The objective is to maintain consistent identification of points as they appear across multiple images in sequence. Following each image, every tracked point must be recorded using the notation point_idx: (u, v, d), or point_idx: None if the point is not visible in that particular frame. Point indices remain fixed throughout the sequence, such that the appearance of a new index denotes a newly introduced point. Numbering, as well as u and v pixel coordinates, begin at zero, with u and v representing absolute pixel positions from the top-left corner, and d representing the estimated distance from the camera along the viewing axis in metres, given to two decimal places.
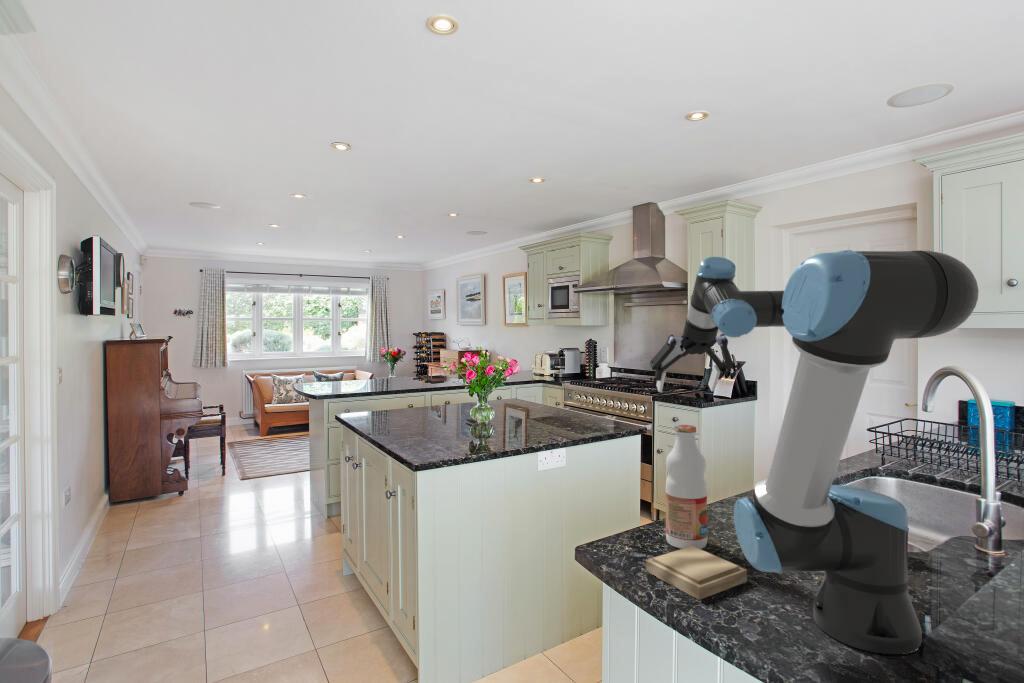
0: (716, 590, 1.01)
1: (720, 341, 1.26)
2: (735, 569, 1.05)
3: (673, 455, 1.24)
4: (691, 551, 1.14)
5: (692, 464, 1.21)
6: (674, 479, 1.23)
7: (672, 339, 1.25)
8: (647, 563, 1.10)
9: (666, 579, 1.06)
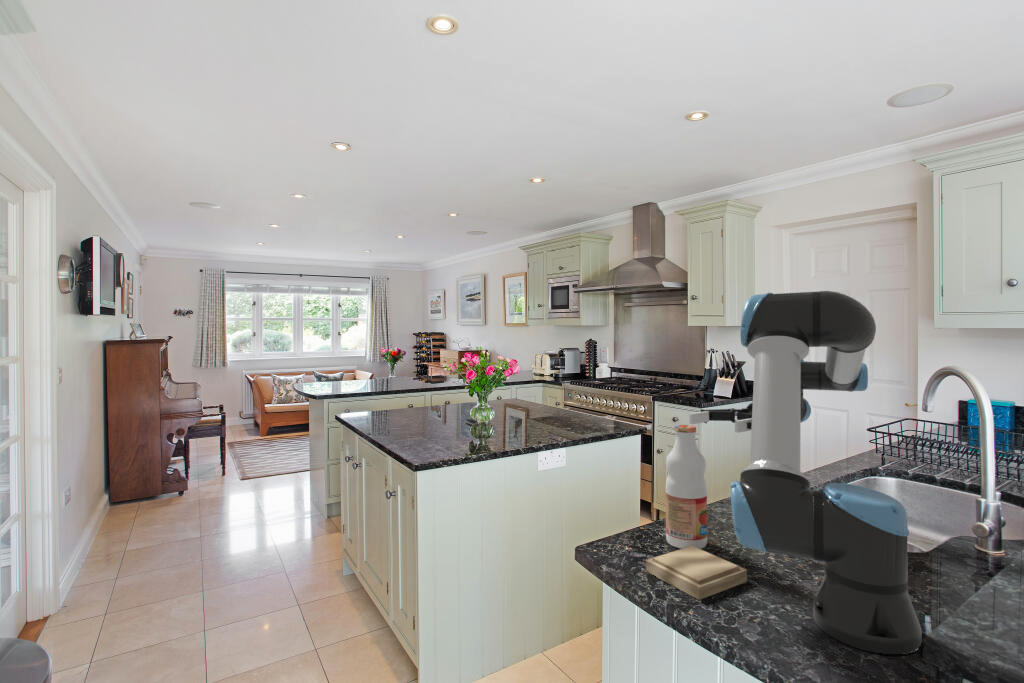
0: (716, 590, 1.01)
1: None
2: (735, 569, 1.05)
3: (673, 455, 1.24)
4: (691, 551, 1.14)
5: (692, 464, 1.21)
6: (674, 479, 1.23)
7: None
8: (647, 563, 1.10)
9: (666, 579, 1.06)
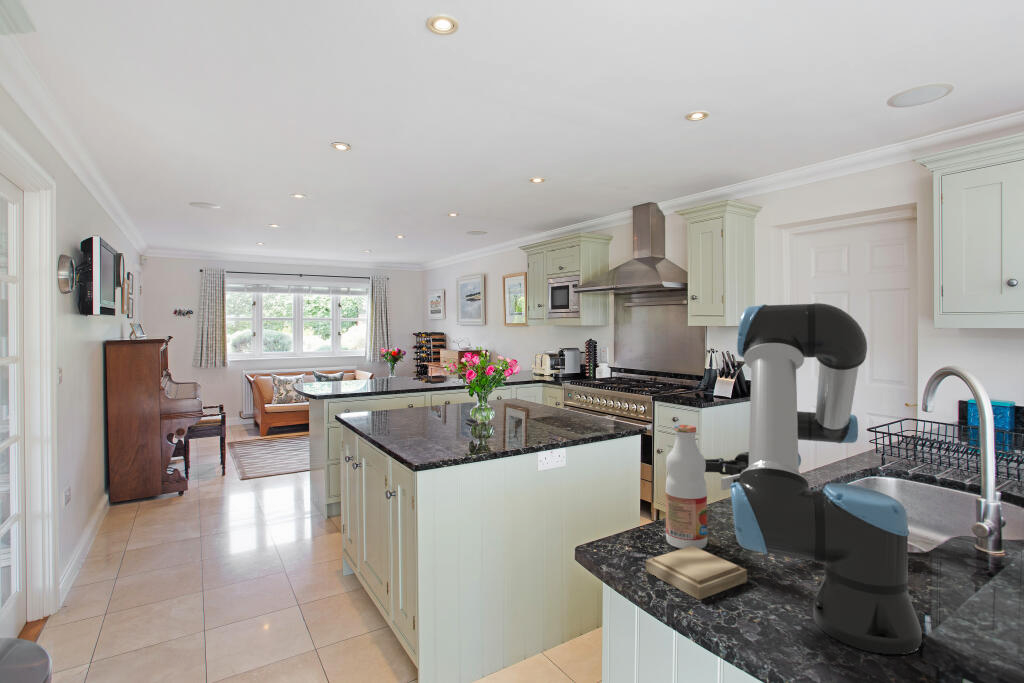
0: (716, 590, 1.01)
1: None
2: (735, 569, 1.05)
3: (673, 455, 1.24)
4: (691, 551, 1.14)
5: (692, 464, 1.21)
6: (674, 479, 1.23)
7: None
8: (647, 563, 1.10)
9: (666, 579, 1.06)
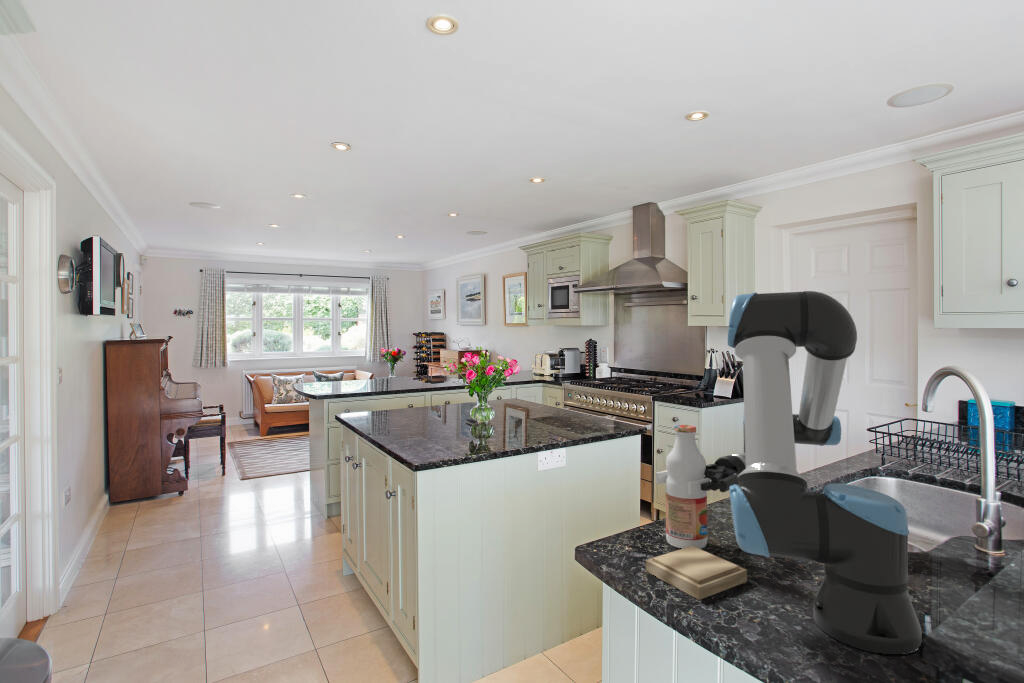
0: (716, 590, 1.01)
1: None
2: (735, 569, 1.05)
3: (673, 455, 1.24)
4: (691, 551, 1.14)
5: (692, 464, 1.21)
6: (674, 479, 1.23)
7: None
8: (647, 563, 1.10)
9: (666, 579, 1.06)
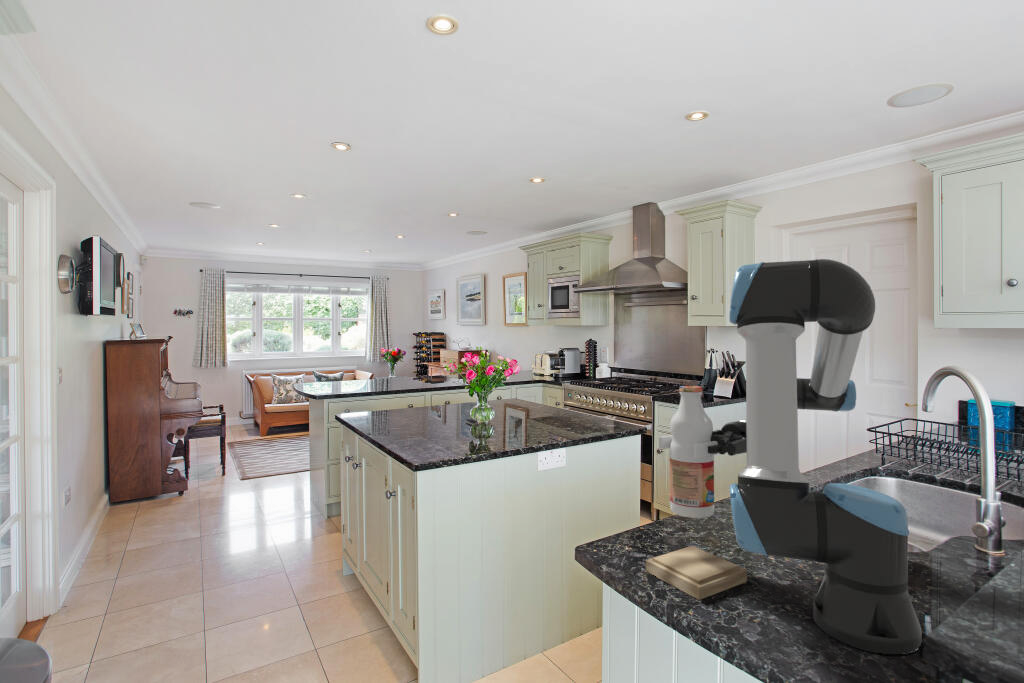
0: (716, 590, 1.01)
1: None
2: (735, 569, 1.05)
3: (678, 417, 1.15)
4: (691, 551, 1.14)
5: (698, 425, 1.13)
6: (679, 443, 1.15)
7: None
8: (647, 563, 1.10)
9: (666, 579, 1.06)
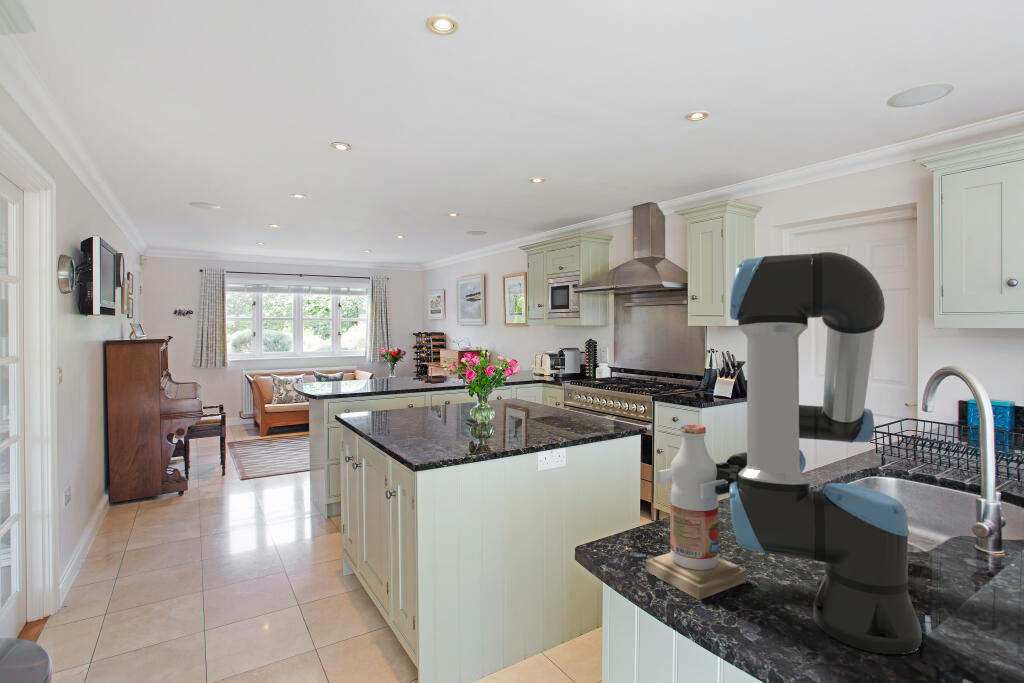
0: (716, 590, 1.01)
1: None
2: (735, 569, 1.05)
3: (679, 460, 1.07)
4: None
5: (701, 470, 1.04)
6: (680, 488, 1.06)
7: None
8: (647, 563, 1.10)
9: (666, 579, 1.06)
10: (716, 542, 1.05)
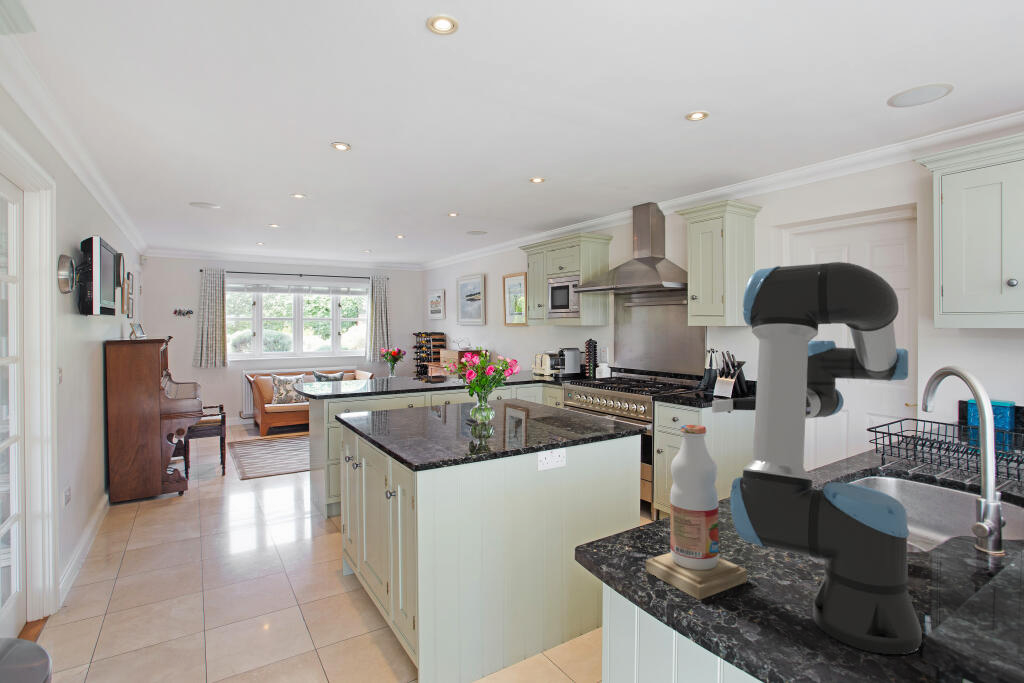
0: (716, 590, 1.01)
1: None
2: (735, 569, 1.05)
3: (679, 460, 1.07)
4: None
5: (701, 470, 1.04)
6: (680, 488, 1.06)
7: None
8: (647, 563, 1.10)
9: (666, 579, 1.06)
10: (716, 542, 1.05)
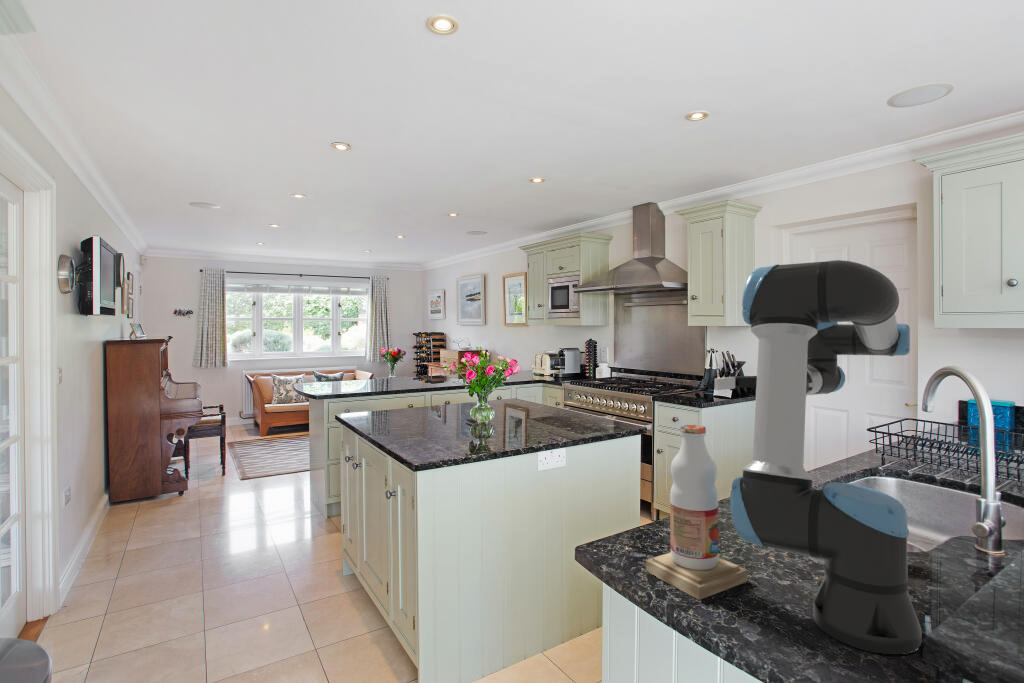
0: (716, 590, 1.01)
1: None
2: (735, 569, 1.05)
3: (679, 460, 1.07)
4: None
5: (701, 470, 1.04)
6: (680, 488, 1.06)
7: None
8: (647, 563, 1.10)
9: (666, 579, 1.06)
10: (716, 542, 1.05)
